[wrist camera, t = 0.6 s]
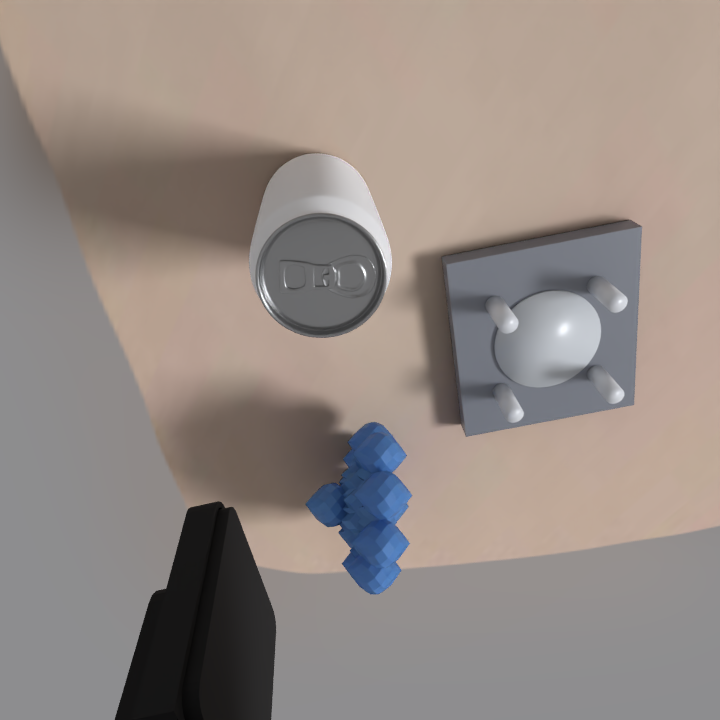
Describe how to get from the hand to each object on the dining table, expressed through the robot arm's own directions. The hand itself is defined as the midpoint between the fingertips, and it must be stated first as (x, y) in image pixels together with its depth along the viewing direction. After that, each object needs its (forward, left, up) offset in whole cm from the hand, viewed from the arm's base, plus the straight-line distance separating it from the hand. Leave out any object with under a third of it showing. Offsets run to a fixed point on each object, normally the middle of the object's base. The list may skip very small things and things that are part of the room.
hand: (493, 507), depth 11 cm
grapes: (+19, -4, -29) cm, 35 cm away
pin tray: (+12, +10, -28) cm, 32 cm away
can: (+1, -3, -29) cm, 29 cm away
